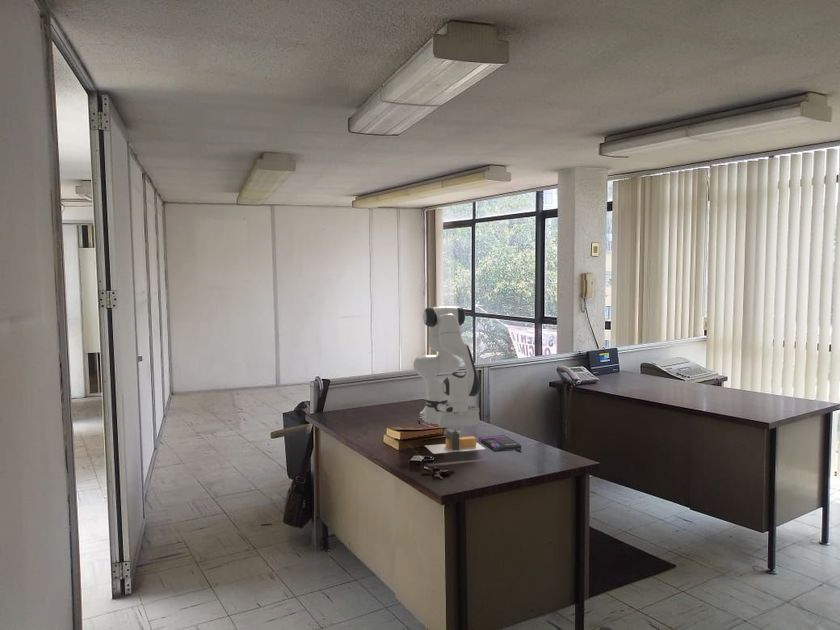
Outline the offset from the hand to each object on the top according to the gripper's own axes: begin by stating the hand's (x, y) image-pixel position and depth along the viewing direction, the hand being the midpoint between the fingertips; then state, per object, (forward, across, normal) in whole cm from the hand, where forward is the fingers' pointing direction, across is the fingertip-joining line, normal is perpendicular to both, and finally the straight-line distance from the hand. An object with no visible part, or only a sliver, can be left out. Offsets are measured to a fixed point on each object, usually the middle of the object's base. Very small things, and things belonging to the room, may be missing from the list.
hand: (458, 435), depth 291 cm
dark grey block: (+5, +3, 0) cm, 6 cm away
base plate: (+7, +2, 0) cm, 7 cm away
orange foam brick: (+6, -1, 0) cm, 6 cm away
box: (+7, -20, +2) cm, 22 cm away
